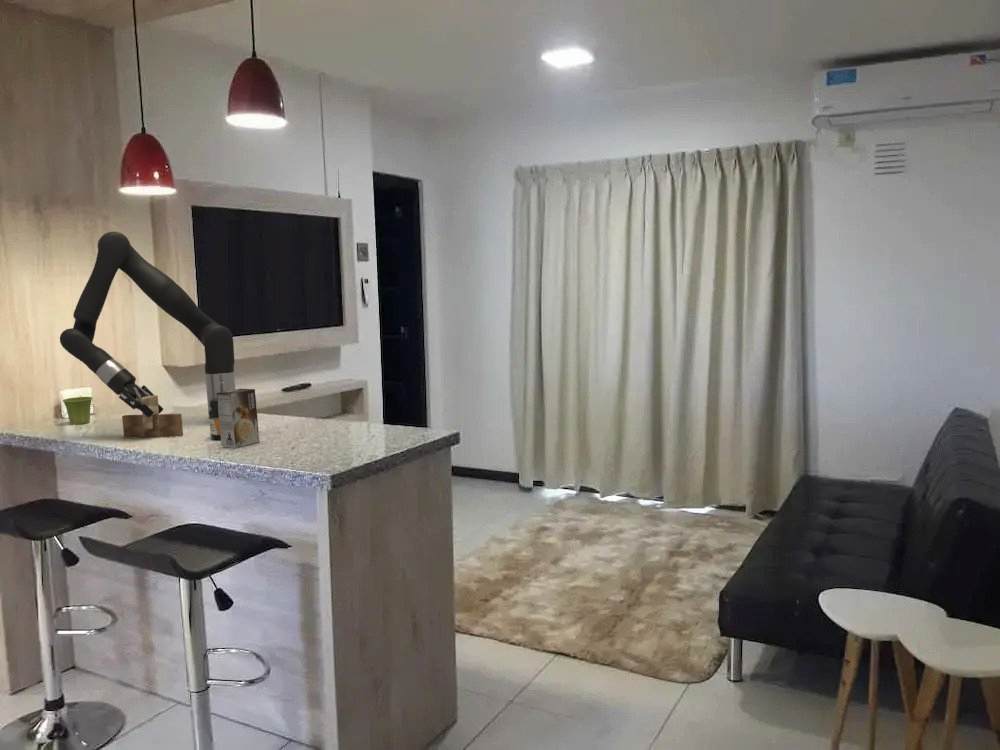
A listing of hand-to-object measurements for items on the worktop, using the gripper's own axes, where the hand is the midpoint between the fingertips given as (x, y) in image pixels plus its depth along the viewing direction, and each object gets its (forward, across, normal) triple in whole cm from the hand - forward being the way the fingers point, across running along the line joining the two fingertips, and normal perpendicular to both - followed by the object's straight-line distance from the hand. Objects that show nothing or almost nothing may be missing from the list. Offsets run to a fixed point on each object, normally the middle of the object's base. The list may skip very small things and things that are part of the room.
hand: (156, 413), depth 255 cm
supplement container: (+22, -4, -12) cm, 25 cm away
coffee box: (+28, -15, -17) cm, 36 cm away
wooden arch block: (+2, 0, +4) cm, 5 cm away
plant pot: (-24, +29, +35) cm, 51 cm away
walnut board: (+4, 0, +6) cm, 8 cm away
